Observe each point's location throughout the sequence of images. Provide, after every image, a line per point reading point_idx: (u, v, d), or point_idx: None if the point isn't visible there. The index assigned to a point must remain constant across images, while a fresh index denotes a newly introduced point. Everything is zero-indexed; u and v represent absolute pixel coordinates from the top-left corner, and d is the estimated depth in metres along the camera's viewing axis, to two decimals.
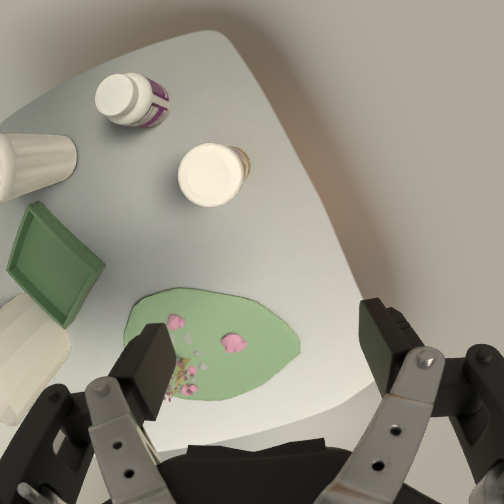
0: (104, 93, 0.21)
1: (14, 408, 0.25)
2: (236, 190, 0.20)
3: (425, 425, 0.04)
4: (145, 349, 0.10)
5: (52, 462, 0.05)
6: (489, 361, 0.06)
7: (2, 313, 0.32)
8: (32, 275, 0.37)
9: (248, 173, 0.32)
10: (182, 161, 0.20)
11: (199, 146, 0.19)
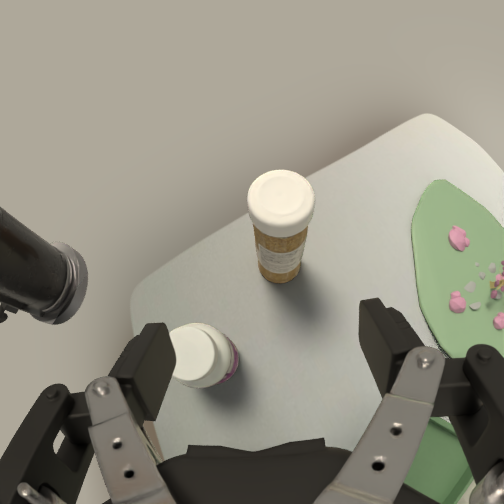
0: (184, 366, 0.19)
1: None
2: None
3: (425, 425, 0.04)
4: (145, 349, 0.10)
5: (52, 462, 0.05)
6: (489, 361, 0.06)
7: None
8: None
9: None
10: (268, 221, 0.19)
11: (251, 206, 0.19)
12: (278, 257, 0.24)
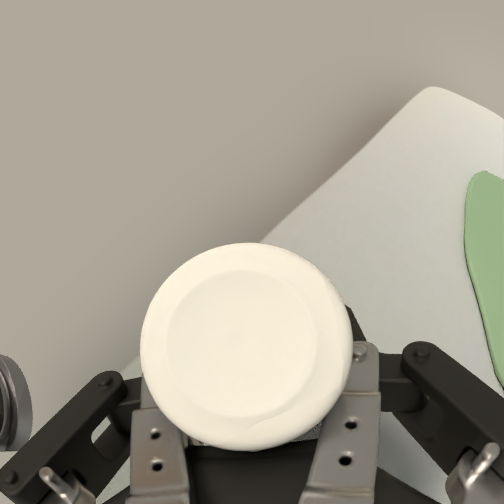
0: None
1: None
2: (263, 245, 0.07)
3: (378, 413, 0.05)
4: None
5: (86, 450, 0.06)
6: (426, 359, 0.07)
7: None
8: None
9: None
10: (212, 441, 0.05)
11: (153, 393, 0.05)
12: None
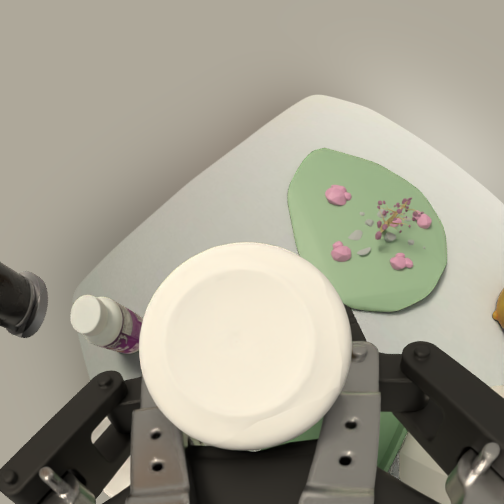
0: (83, 323, 0.25)
1: None
2: (262, 244, 0.07)
3: (378, 413, 0.05)
4: None
5: (86, 450, 0.06)
6: (426, 359, 0.07)
7: (424, 493, 0.16)
8: None
9: None
10: (211, 440, 0.05)
11: (152, 392, 0.05)
12: None
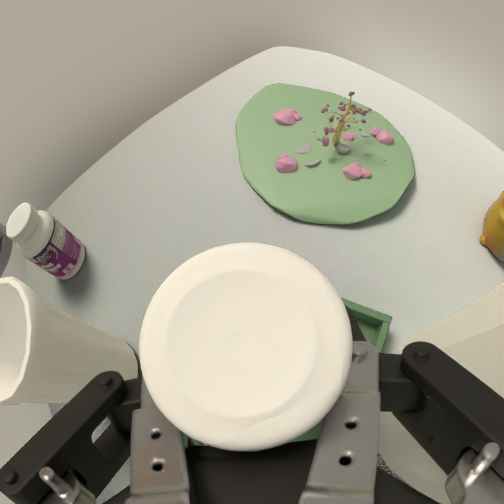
0: (14, 227, 0.22)
1: None
2: (262, 244, 0.07)
3: (378, 413, 0.05)
4: None
5: (86, 450, 0.06)
6: (425, 359, 0.07)
7: (400, 457, 0.13)
8: (318, 424, 0.20)
9: None
10: (211, 441, 0.05)
11: (152, 393, 0.05)
12: None
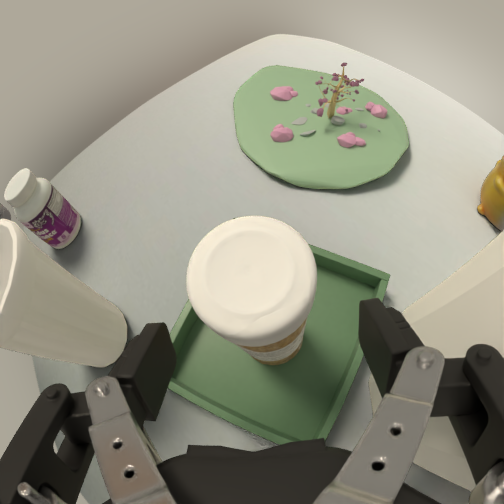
0: (12, 191, 0.21)
1: None
2: (263, 216, 0.11)
3: (425, 425, 0.04)
4: (145, 349, 0.10)
5: (52, 462, 0.05)
6: (489, 361, 0.06)
7: None
8: (315, 390, 0.20)
9: None
10: (232, 332, 0.09)
11: (195, 305, 0.10)
12: (269, 354, 0.14)
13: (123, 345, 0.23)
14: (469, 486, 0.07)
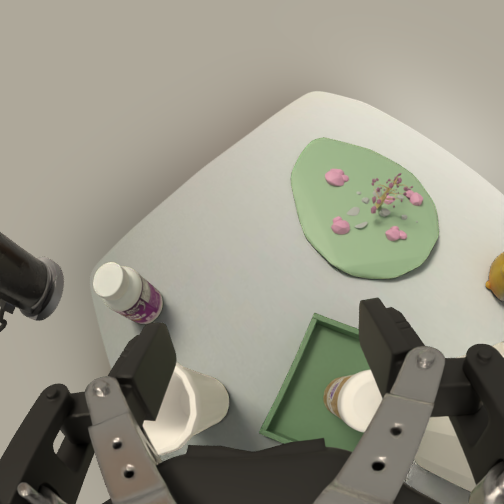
0: (106, 287, 0.28)
1: None
2: None
3: (425, 425, 0.04)
4: (145, 349, 0.10)
5: (52, 462, 0.05)
6: (489, 361, 0.06)
7: (430, 458, 0.18)
8: None
9: (345, 376, 0.29)
10: None
11: (347, 420, 0.16)
12: None
13: (227, 409, 0.30)
14: (460, 485, 0.14)
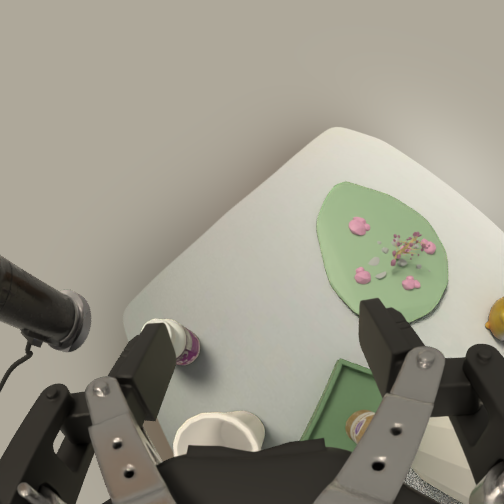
0: None
1: None
2: None
3: (425, 425, 0.04)
4: (145, 349, 0.10)
5: (52, 462, 0.05)
6: (489, 361, 0.06)
7: (431, 476, 0.22)
8: None
9: (363, 410, 0.32)
10: None
11: None
12: None
13: (263, 439, 0.33)
14: (454, 497, 0.17)
